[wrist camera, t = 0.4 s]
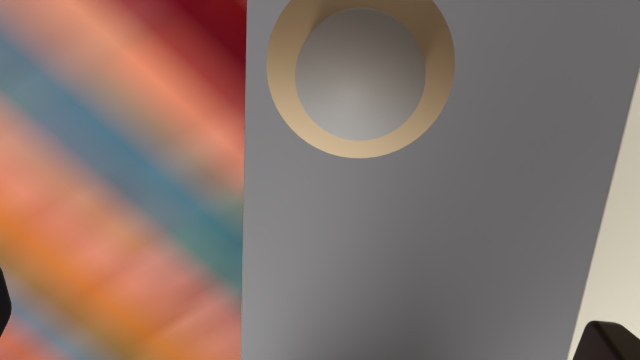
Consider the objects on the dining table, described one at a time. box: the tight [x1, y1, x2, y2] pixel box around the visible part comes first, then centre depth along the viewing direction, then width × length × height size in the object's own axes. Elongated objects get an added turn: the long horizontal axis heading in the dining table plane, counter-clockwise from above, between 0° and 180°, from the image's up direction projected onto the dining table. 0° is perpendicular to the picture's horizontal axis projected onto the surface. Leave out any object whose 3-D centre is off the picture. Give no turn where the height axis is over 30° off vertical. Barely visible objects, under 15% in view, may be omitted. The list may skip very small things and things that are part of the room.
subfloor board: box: [241, 0, 640, 360], centre depth 22 cm, size 17×20×1 cm
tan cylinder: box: [266, 0, 455, 158], centre depth 14 cm, size 4×4×12 cm
